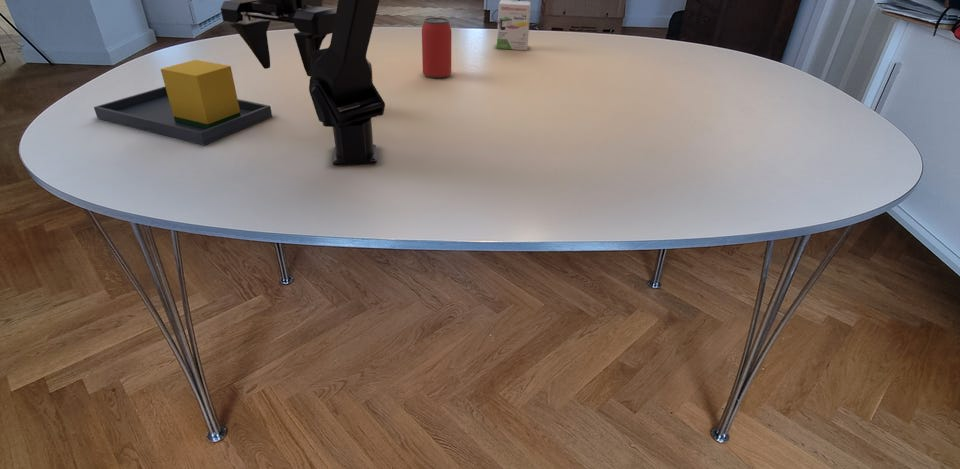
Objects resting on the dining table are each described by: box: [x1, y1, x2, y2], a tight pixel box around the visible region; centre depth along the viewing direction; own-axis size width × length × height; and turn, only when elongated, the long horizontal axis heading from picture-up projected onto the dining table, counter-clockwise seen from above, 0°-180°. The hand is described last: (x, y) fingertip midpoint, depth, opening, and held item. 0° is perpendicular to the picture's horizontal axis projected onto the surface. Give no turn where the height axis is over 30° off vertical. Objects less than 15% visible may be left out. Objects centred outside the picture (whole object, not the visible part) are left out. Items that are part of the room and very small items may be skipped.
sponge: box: [160, 59, 241, 129], centre depth 92 cm, size 8×7×9 cm
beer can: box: [421, 17, 452, 79], centre depth 122 cm, size 7×7×12 cm
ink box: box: [496, 0, 532, 51], centre depth 147 cm, size 8×5×12 cm, turn 84°
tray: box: [93, 86, 273, 146], centre depth 96 cm, size 25×15×2 cm, turn 66°
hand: (288, 71), depth 87 cm, fingers open, 9 cm apart
